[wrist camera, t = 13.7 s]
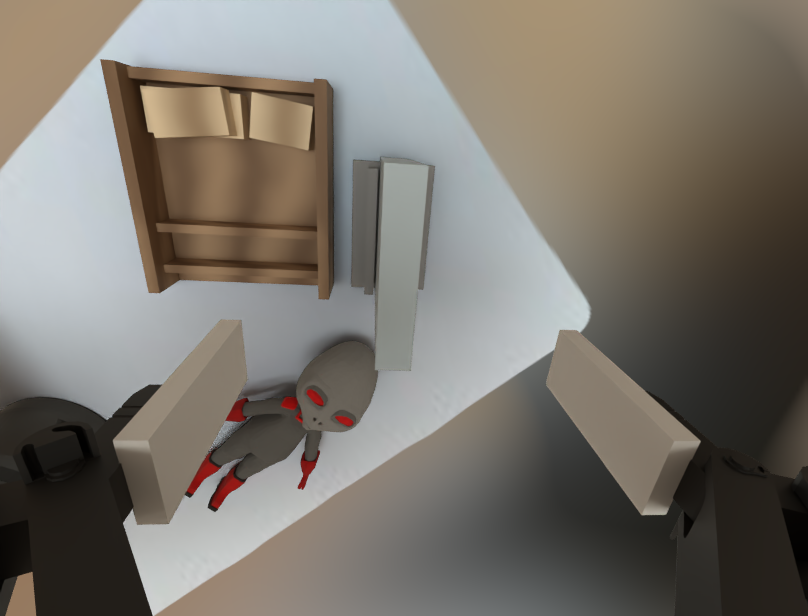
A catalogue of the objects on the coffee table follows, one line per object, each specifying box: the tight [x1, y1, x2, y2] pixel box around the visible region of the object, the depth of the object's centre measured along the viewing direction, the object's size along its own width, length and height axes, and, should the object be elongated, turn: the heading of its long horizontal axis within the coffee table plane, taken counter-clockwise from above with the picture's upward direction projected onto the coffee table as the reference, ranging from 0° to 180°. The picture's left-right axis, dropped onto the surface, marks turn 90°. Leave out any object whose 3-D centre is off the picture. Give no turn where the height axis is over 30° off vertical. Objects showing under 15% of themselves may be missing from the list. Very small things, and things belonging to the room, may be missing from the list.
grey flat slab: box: [375, 157, 429, 371], centre depth 32 cm, size 14×3×16 cm, turn 176°
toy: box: [185, 341, 378, 512], centre depth 46 cm, size 16×10×30 cm
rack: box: [100, 59, 334, 299], centre depth 35 cm, size 17×19×5 cm
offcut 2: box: [140, 86, 251, 140], centre depth 33 cm, size 8×4×2 cm, turn 86°
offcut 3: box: [249, 92, 315, 151], centre depth 33 cm, size 5×4×3 cm
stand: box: [351, 160, 435, 295], centre depth 38 cm, size 13×8×4 cm, turn 176°
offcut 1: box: [142, 87, 237, 139], centre depth 31 cm, size 6×4×2 cm, turn 92°
